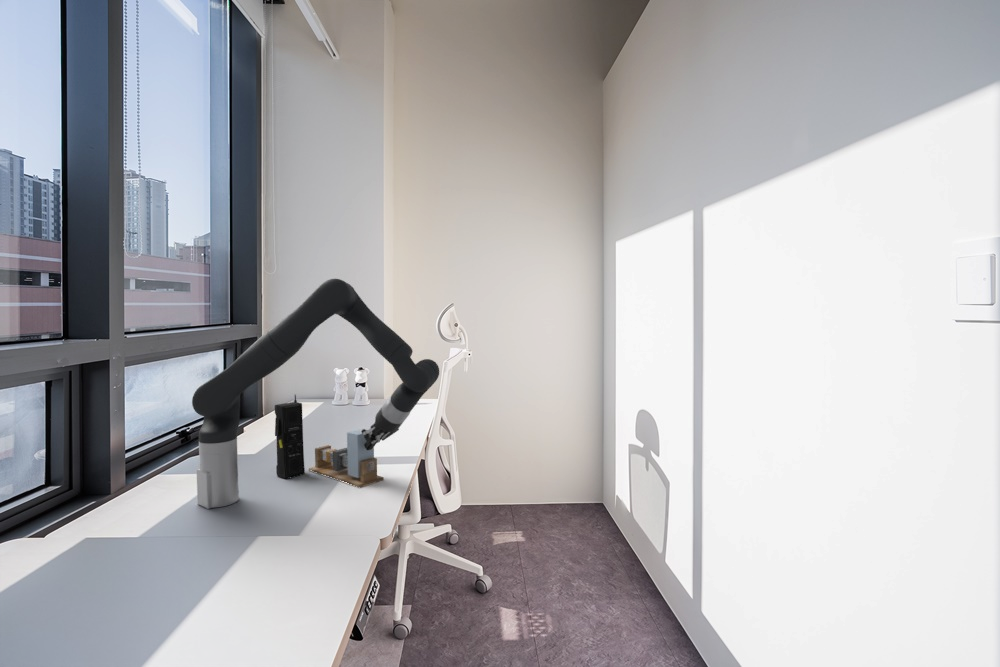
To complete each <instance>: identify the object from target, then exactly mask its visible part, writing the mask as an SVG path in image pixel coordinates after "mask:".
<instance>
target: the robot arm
mask: <svg viewBox="0 0 1000 667" xmlns="http://www.w3.org/2000/svg"><path fill="white" fill-rule="evenodd" d="M334 315H338V316H340V318H343V319H344V320H346V322H348V323H349V324H351V325H352V326H353V327H354V328H356V329H357V330H358V332H360V333H361V335H362V336H363V337H364V338H365V339H366V340H367V342H368V343H369V344H370V345H371V346H372V348H373V349H374V350H376V351H377V353H378V354H379V355H380V356H381V357H383V358H384V359H385V360H386V361H387V362H388V363H389V364H391V367H393V369H394V371H395V372H396V374H397V375H398V377H399V378H400V380H401V384H399V385H398V386H397V387H396V389H395V390H394V391H393V392H392V393H391V396H389V397H387V398H388V399H387V400H386V401H385V402H384V403H383V405H382V406H381V408H380V409H379V410H378V411H377V413H376V414H375V421H374V423H373V424H371V425H370V428H369V429H366V430H365V428H362V429H363V430H362V431H361V432H362V434H363V436H364V438H365V440H366V441H367V442H366V443H365V444H364V446H365V448H366V450H371V449H372V448H373V447H374V448H375V446H376V445H377V444H378V443H380V441H386V439H388V438H389V437H391V436H392V435H394V434H395V433H397V432H398V431H399V430H400V427H401V426H402V425H403V423H404V422H405V420H407V418H408V417H409V416H410V414H411V412H412V410H413V409H414V407H415V406H416V405H417V404H418V403H419V401H420V400H421V398H422V397H423V396H424V395H425V393H427V391H428V390H430V389H431V387H432V386H433V385H434V384H435V383H436V382H437V381H438V379H439V376H440V368H439V365H438V363H437V362H436V361H434V360H433V359H430V358H425V359H421V360H420V361H418V362H417V363H415V362H414V361H413V359H412V354H413V352H414V351H413V348H412V347H411V345H409V344H408V343H407V342H406V341H405V340H404V339H403V338H402V337H401V336H399V334H398V333H396V332H395V331H394V330H393V329H392V328H391V327H390V326H388V325H387V324H386V323H384V322H383V320H381V319H380V318H379V317H378V316H377V315H376V314H375V313H374V312H373V311H372V310H371V309H370V308H369V307H368V305H367V304H366V303H365V302H364V301H363V299H362V298H361V296H359V294H358V292H356V290H355V288H354V287H353V285H351V284H350V283H348V282H346V281H344V280H342V279H339V278H330V279H327V280H325V281H323V282H322V283H321V284H319V286H318V287H317V288H316V289H315V290H313V291H312V293H311V294H309V296H308V297H307V298H306V299H305V300H304V301H303V302H302V303H301V304H300V305H299V306H297V307H296V308H295V309H294V310H293V311H292V312H290V313H289V314H288V315H287V316H285V317H284V318H282V319H281V320H280V321H279V322H277V324H275V325H274V326H273V327H272V328H270V329H269V330H267V331H266V332H264V334H262V335H261V336H260V337H259V338H258V339H257V340H256V341H254V343H252V344H251V345H250V346H249V347H248V348H247V349H245V351H244V352H243V353H241V354H240V355H239V357H237V358H236V359H235V360H234V362H232V363H231V364H230V365H229V366H228V367H227V368H225V369H224V370H223V371H220V373H218V374H217V375H215V376H214V377H213V378H211V379H209V380H208V381H206V382H205V383H203V384H201V385H200V386H199V387H198V388H196V390H195V392H194V393H193V395H192V399H191V404H192V405H191V406H192V409H193V410H194V411H195V413H196V414H198V415H199V416H202V417H203V421H202V425H201V427H200V429H199V431H198V456H199V460H198V461H199V468H197V469H196V490H197V492H196V493H197V495H196V496H197V505H200V506H201V507H202V508H205V509H207V510H209V509H212V508H214V509H215V508H220V507H221V508H222V507H226V506H229V505H232V504H235V503H237V502H238V501H239V500H240V494H239V493H240V490H239V461H238V460H239V458H238V457H239V456H238V453H239V452H238V429H239V425H240V403H241V402H240V395H241V394H242V393H244V391H246V390H247V389H248V388H249V387H251V386H252V385H254V384H255V383H256V382H259V381H260V380H262V379H264V378H266V376H269V375H270V374H272V373H273V372H274V371H276V370H277V369H279V368H280V367H281V366H283V365H284V364H285V363H287V361H289V360H290V359H291V358H292V357H294V356H295V355H296V354H297V353H298V352H299V351H300V350H301V348H302V347H303V346H304V345H305V343H306V342H307V340H308V339H309V337H310V336H311V335H312V333H313V332H314V331H315V330H316V328H318V327H319V326H320V325H321V324H323V323H324V322H325V321H327V320H328V319H329V318H331V317H332V316H334Z"/></svg>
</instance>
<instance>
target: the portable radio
mask: <svg viewBox="0 0 1000 667" xmlns="http://www.w3.org/2000/svg"><path fill="white" fill-rule="evenodd" d="M297 401H298V400H297V394H294V400H293V401H292V402H285V403H279V404H274V414H275V421H274V422H275V425H274V428H275V429H274V436H275V437H276V467H275V468H276V469H275V470H276V476H277V477H279V478H281V477H282V478H281V479H284V478H285V480H287V478H288V479H291V478H294V476H295V477H298V476H297V475H299V476H301V475H300V474H302V475H304V474H306V472H305V470H306V468H305V456H304V455H305V454H304V429H303V428H304V426H303V403H302V402H297ZM290 477H291V478H290Z"/></svg>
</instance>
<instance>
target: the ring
mask: <svg viewBox="0 0 1000 667" xmlns="http://www.w3.org/2000/svg"><path fill="white" fill-rule="evenodd" d="M344 453H347V447H343V448H340V449H337V450H335V451H333V470H335V471H340V470H343V469H347V468H348V467H345V466H341V465H340V458H339V455H340V454H344Z"/></svg>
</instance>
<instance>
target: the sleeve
mask: <svg viewBox="0 0 1000 667" xmlns="http://www.w3.org/2000/svg"><path fill="white" fill-rule="evenodd" d="M363 429H365V428H361V429H356V430H352V431H347V432H346V437H347V438H346V442H347V444H346V448H347V456H348V475H350V476H353V477H356V478H360V461H361V460H365V459H371V458H375V446H374V447H373V448H372V449H371V450H366V448H365V446H364V444H365V443H366V442H367V441H366V440H365V438H364V436H363V434H362V432H361V431H362V430H363ZM365 430H367V429H365Z"/></svg>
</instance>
